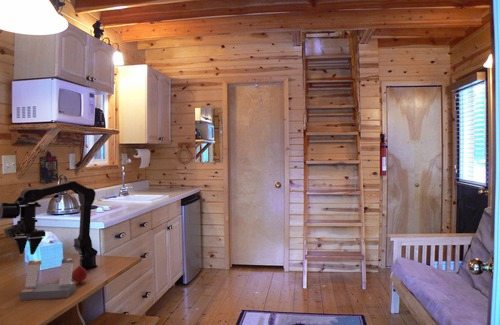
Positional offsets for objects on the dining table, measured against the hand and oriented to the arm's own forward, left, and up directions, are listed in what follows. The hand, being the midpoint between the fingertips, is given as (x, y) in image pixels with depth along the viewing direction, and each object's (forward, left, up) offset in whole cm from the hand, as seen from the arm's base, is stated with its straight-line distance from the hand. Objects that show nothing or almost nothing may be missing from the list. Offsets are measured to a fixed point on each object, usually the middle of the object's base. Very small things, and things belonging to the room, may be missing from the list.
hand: (26, 254), depth 150 cm
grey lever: (-6, +23, -10) cm, 26 cm away
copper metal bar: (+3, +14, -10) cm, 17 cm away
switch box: (-2, +18, -14) cm, 23 cm away
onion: (-15, +16, -14) cm, 26 cm away
